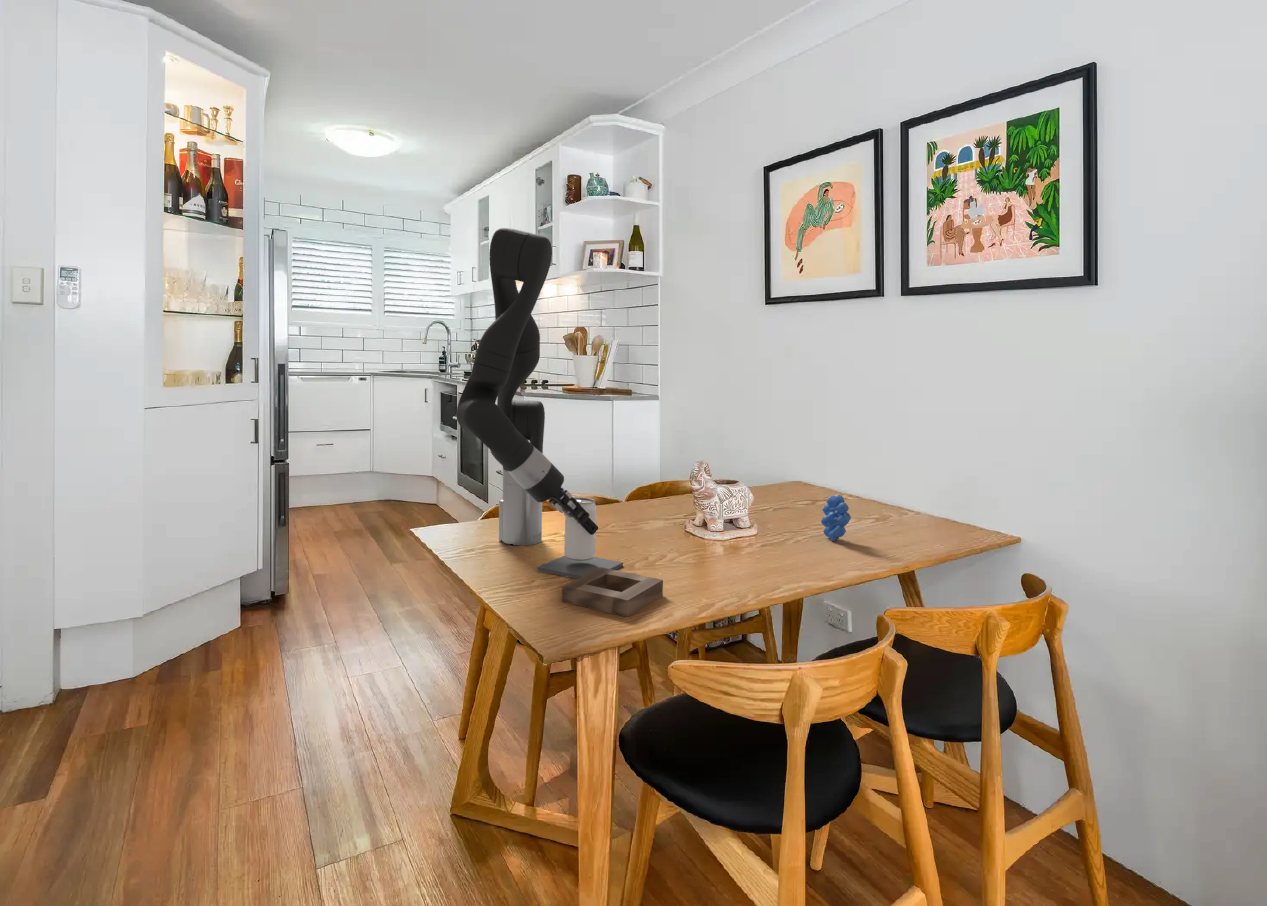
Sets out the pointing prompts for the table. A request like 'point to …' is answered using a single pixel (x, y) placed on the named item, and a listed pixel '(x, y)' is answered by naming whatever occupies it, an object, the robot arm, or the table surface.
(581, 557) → the can
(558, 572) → the mat
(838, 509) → the grapes
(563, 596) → the collar
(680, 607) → the table surface
